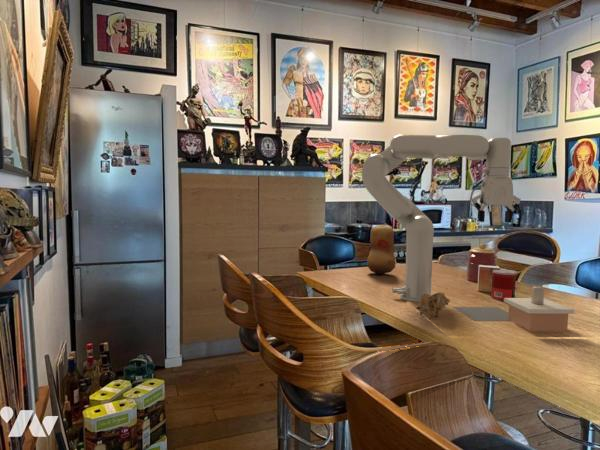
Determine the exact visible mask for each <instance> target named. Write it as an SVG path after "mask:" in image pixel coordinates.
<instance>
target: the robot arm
mask: <svg viewBox="0 0 600 450" xmlns="http://www.w3.org/2000/svg"><path fill="white" fill-rule="evenodd" d="M511 150H512V141H511V139H510V138H507V137H493V138H490V139H489V140H488V138H486V137H484V136H482V135H478V134H476V135H475V134H443V135H442V134H438V135H437V134H435V135H431V134H407V133H406V134H398V135H395V136H394V137H392V139H391V140H390V142H389V146H387V147H386V148H385V149H384V150H383V151H381V152H380V153H373V154H370V155H368V157H366V159H364V162H363V164H362V168H361V179H362V182H363V185H364V187H365V189H366V190H367V192H368V194H370V195H371V196H372V198H374V200H375V201H376V203H378V204H379V205H380V206H381V207H382V208H383V209H384V210H385V211H386V212H387V214H388V215H389V216H390V217H391V218H392V219H394V220H396V221H397V222H398V223H399V224H400V225H401V226H402V227H403V228H404V229H405V230H406V237H405V238H406V245H405V248H406V249H405V272H404V273H405V274H404V275H405V276H404V277H405V279H404V281H405V282H404V285H402V287H399V288H398V287H392V288H391V292H392V293H393V294H398V295H400V298H401V299H402V300H403V301H411V302H419V303H421V296H422V295H423V294H425V293H426V294H429V295H430V297H431V295H432V279H433V278H432V275H433V274H432V273H433V272H432V271H433V248H434V247H433V246H434V232H435V231H434V230H435V229H434V223H433V222H432V221H433V220H431V218H429V217H428V215H426V214H425V213H424V212H423V211H422V210H421V209H420V208H419V207H418V206H417V205H416V204H415V203H414V202H413V201H412V199H410V198H409V197H407V196H405V195H403V194H402V193H401V192H400V191H399V190H398V188H396V187H395V186H394V184H393V183H391V182H390V181H389V180H388V179H387V177H386V175H388V174H389V173H391V172H392V171H393V170H395V169H396V168H397V167H398V166H400V165H401V164H402V163H404V162H405V161H406V160H407V159H408V158H409V159H427V160H428V159H430V160H434V159H441V158H446V157H462V158H463V157H464V158H466V159H467V160H471V161H478V160H479V161H481V160H486V161H485V169H483V170H481V173H482V174H483V175H484V176H485V177H483V179H482V183H481V186H480V193H478V194H477V195H474V196H473V197H470V200H471V203H472V204H473V206H474V207H475V209H476V210H477V221H478V222H480V223H484V222H485V219H486V218H485V216H486V215H485V213H486V210H484V209H485V208H486V207H487V206H499V207H501V206H503V207H504V208H505V213H504V222H505V223H509V224H510V223H512V220H513V212H514V211H515V209H517V208H518V207H519V204H520V203H521V198H519V197H518V196H516V195H515V194H514V184H513V179H512V177H510V167H511V166H510V165H511ZM478 200H479V202H478Z"/></svg>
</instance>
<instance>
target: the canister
mask: <svg viewBox="0 0 600 450" xmlns="http://www.w3.org/2000/svg"><path fill="white" fill-rule="evenodd" d="M495 253H496V251H495V250H494V249H493V248H489V247H486V244H485V243H481V244H479V247H472V248H471V249H469V253H467V257H468V259H467V261H466V263H467V264H466V280H467V281H469V282H474V283H478V270H479V265H486V266H498V264H497V259H498V256H497V255H495Z"/></svg>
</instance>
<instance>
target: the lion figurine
mask: <svg viewBox="0 0 600 450" xmlns="http://www.w3.org/2000/svg"><path fill="white" fill-rule="evenodd" d="M450 302H451V300H450V299H449V298H448V297H446V293H445V292H442V291H441V292H437V293H434V294H431V297H430V295H429V294H426V293H425V294H423V295H422V296H421V302H420V305H419V306H417V307H416V310H419V313H418V314H419V315H423V314H424V313H423V311H427V309H428V317H429V318H430V319H428V320H431V319H432V318H434V317H435V318H439V313H440V312H441V311H442V309H444V308H445V307H446V306H448V305H449V303H450ZM433 312H434V313H435V314H434V317H433Z"/></svg>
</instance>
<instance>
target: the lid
mask: <svg viewBox="0 0 600 450" xmlns="http://www.w3.org/2000/svg"><path fill="white" fill-rule="evenodd" d="M545 290H546V289H545V287H542V286H538V285H537V286H534V285H533V286H531V297H523V298H522V297H515V298H504V301H503V302H504V303H506V304H508V305H509V304H510V305H512V306H514V307H516V308H519V309H521V310H523V311H525V312H527V313H537V314H568V315H572V314H573V315H574V314H575V309H573V308H570V307H569V306H566V305H564V304H560V303H557V302H555V301H553V300H550V299H548V298H545Z"/></svg>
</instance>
